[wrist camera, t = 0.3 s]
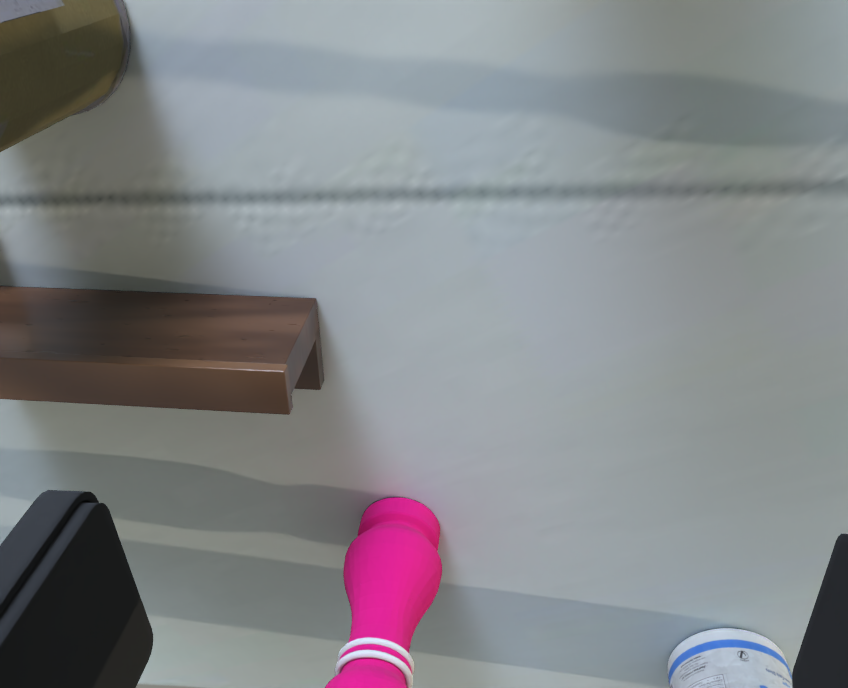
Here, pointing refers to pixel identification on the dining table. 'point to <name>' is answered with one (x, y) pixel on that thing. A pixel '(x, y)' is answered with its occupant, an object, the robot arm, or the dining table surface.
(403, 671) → the pepper mill
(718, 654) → the supplement tub
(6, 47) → the canister
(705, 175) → the dining table surface
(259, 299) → the brown wooden ledge shelf
